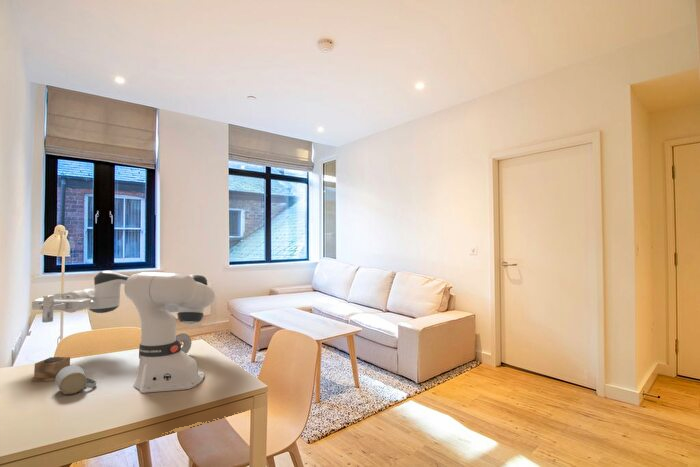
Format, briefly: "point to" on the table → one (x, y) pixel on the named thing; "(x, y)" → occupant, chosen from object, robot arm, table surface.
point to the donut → (184, 342)
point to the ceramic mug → (73, 380)
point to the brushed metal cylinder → (47, 308)
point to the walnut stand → (49, 368)
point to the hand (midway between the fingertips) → (46, 307)
